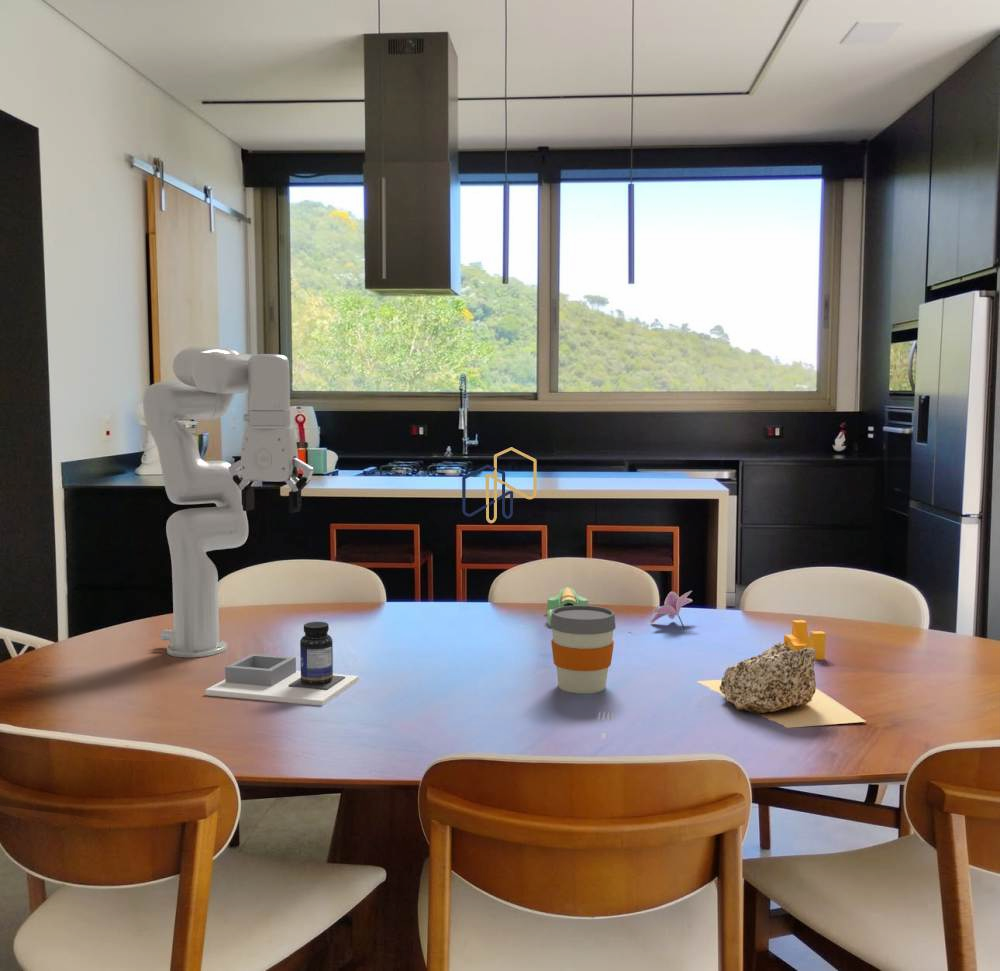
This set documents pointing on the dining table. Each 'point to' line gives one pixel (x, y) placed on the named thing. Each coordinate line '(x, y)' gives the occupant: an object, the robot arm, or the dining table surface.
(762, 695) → the rock
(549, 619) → the toy spaceship
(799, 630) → the orange stepped block
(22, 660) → the dining table surface
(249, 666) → the socket board
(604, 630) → the reusable coffee cup
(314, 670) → the pill bottle
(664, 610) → the lily
